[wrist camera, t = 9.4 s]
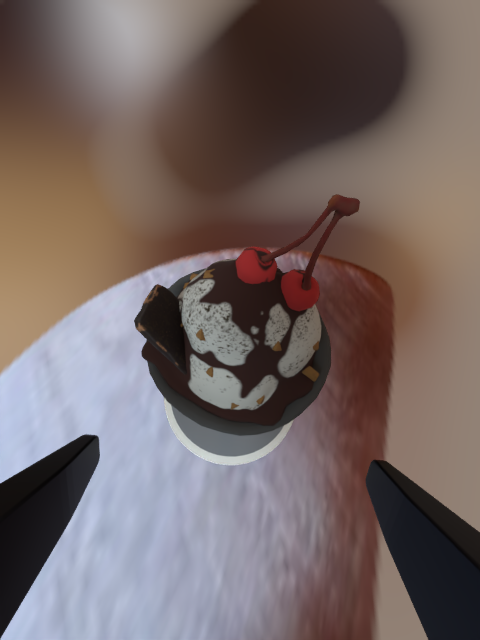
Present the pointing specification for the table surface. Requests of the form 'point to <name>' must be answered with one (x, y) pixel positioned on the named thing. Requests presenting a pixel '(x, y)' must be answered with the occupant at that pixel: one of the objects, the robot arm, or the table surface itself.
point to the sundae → (241, 338)
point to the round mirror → (222, 440)
